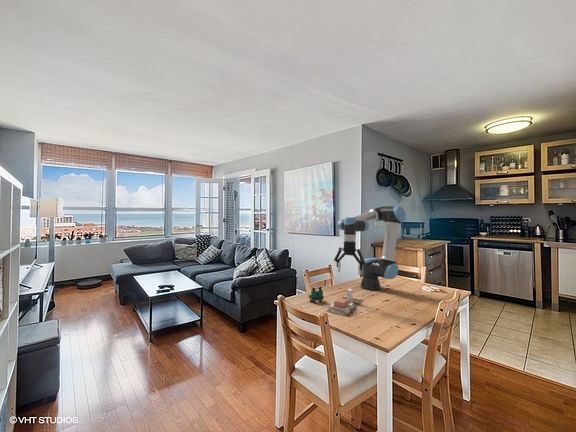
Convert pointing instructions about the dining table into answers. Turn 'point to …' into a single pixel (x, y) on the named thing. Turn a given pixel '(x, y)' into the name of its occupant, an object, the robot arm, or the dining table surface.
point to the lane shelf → (356, 303)
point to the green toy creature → (316, 295)
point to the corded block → (344, 300)
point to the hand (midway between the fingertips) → (349, 273)
